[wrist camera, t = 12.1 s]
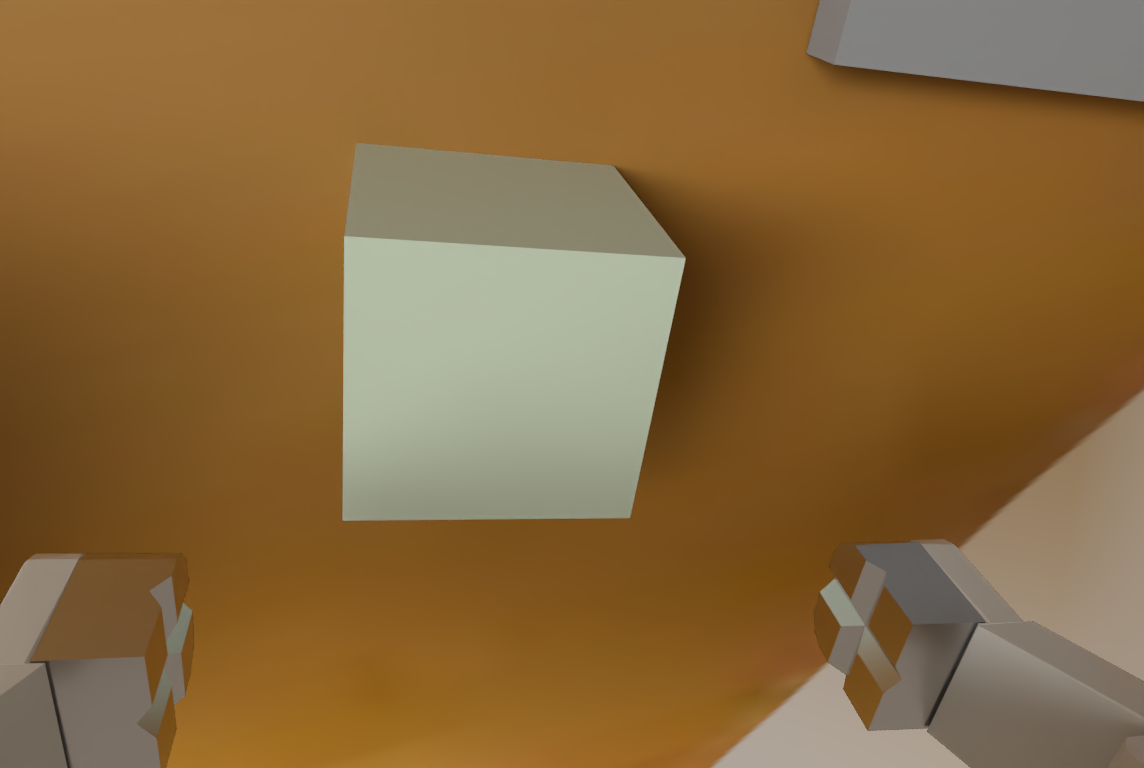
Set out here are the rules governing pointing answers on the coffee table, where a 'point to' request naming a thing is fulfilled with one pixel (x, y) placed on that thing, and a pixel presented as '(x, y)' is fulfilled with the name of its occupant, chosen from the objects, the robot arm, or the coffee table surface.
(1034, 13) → the baseplate
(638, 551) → the coffee table surface
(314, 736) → the coffee table surface
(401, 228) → the sage green block
